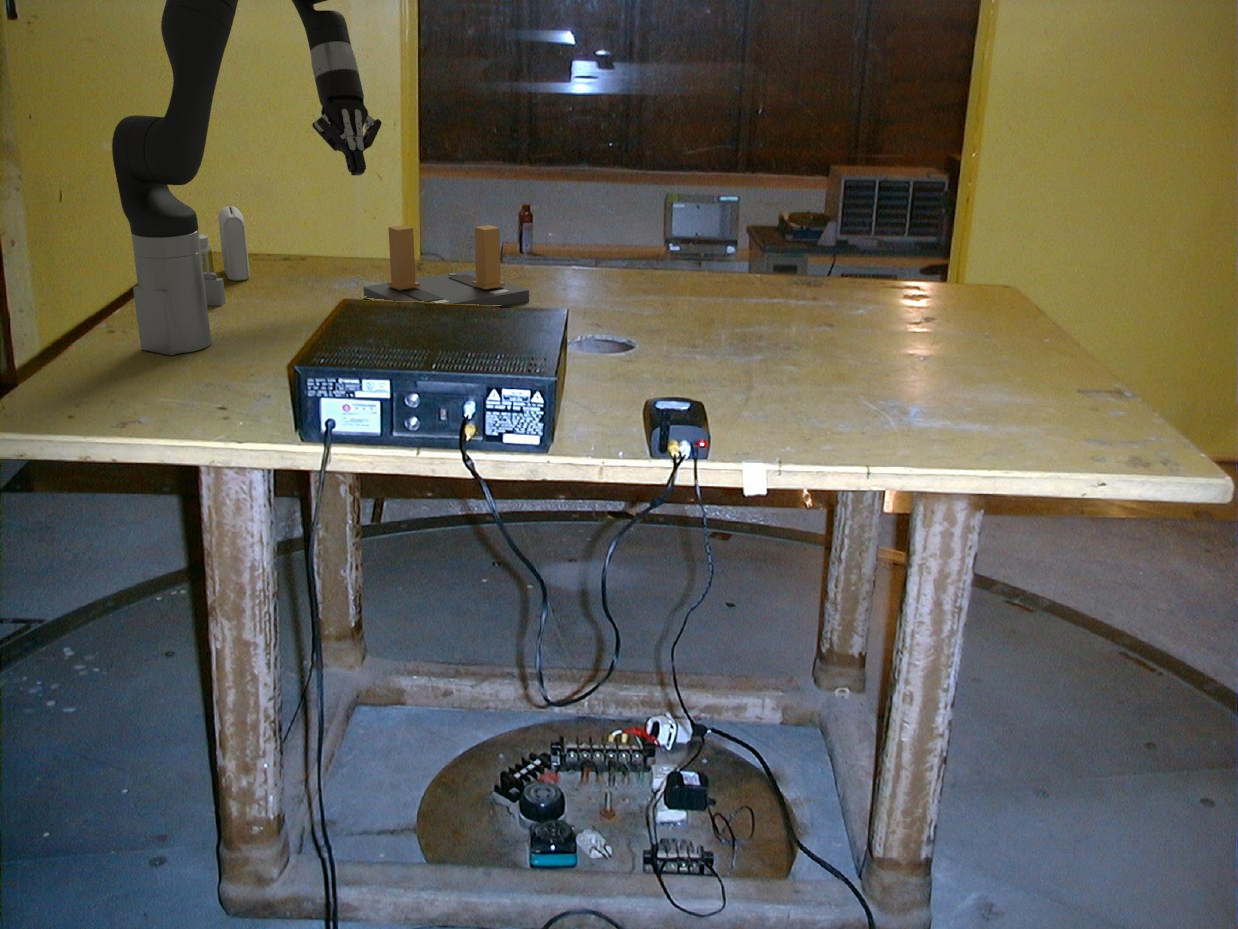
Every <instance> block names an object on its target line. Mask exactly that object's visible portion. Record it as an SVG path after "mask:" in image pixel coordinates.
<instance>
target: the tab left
mask: <svg viewBox="0 0 1238 929" xmlns="http://www.w3.org/2000/svg"><path fill="white" fill-rule="evenodd" d="M387 227H388V242H389V243H388V244H389V246H388V247H389V261H390V262H389V263H390V280H389V281H387V285H388V286H391V287H393V288H396V289H398V290H402V289H409V288H415V287H420V283H418V282H416V280H415V279H416V261H415V258H416V257H415V241H414V240H415V239H414V238H415V237H414V228H413V227H411V226H409V225H406V224H401V225H396V226H395V225H394V226H387Z"/></svg>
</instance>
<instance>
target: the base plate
mask: <svg viewBox="0 0 1238 929" xmlns="http://www.w3.org/2000/svg"><path fill="white" fill-rule="evenodd" d="M415 280H416V282H418V283H420V287H415V288H409V289H402V290H398V289H396V288H393V287H391V286H388V285H387V283H380V284H374V285H368V286H367V285H366V286H363V288H362V289H363V297H364V296H367V297H366V298H374V299H384V300H393V301H424V302H435V303H449V304H476V305H477V304H479V305H507V306H512V305H517V304H523V303H528V302H530V289H527V288H524V287H521V286H519V285H516V284H513V283H510V282H508V281H506V280H502V279H500V281H501V282H504V283H505V286H503V287H497V288H491V289H482V288H480V287H477V286H474V285H472V281H476V270H474V269H469V270H463V271H455V272H449V273H443V274H436V275H431V276H424V277H418V278H415Z"/></svg>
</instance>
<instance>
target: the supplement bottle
mask: <svg viewBox="0 0 1238 929" xmlns="http://www.w3.org/2000/svg"><path fill="white" fill-rule="evenodd" d="M199 239H200V247H201V257H202V266H203V273H204V272H210V273H215V268H214V261H213V259H214V258H213V253H212V252H213V250H212V247H211V246H210V245H209V237H208V235H206V234H200V233H199Z"/></svg>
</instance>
